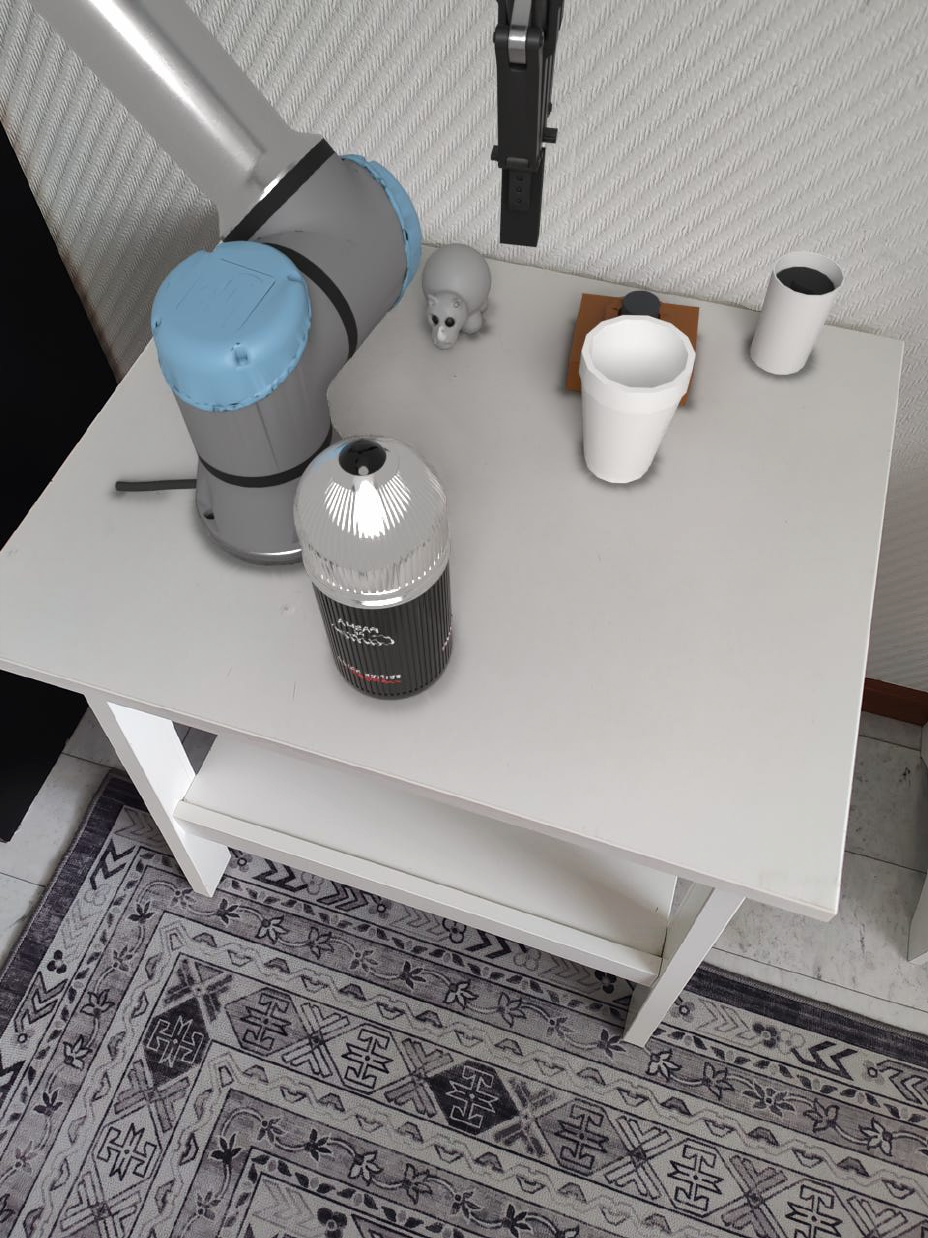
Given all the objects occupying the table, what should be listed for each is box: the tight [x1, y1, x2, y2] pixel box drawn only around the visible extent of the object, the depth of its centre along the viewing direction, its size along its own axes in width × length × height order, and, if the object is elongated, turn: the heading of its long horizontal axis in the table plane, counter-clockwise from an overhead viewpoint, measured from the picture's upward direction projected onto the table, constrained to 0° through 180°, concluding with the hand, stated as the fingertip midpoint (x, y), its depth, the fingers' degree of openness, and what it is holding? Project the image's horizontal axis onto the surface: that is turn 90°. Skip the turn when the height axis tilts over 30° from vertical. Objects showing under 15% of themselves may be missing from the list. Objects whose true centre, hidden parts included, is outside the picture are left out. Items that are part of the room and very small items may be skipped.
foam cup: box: [579, 315, 697, 484], centre depth 79 cm, size 10×9×13 cm
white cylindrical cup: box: [749, 250, 846, 376], centre depth 88 cm, size 7×7×10 cm
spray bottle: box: [293, 434, 454, 702], centre depth 63 cm, size 10×10×25 cm
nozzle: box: [620, 289, 661, 319], centre depth 86 cm, size 4×4×2 cm
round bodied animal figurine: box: [420, 242, 492, 351], centre depth 91 cm, size 7×12×8 cm, turn 167°
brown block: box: [565, 292, 700, 406], centre depth 89 cm, size 12×10×6 cm
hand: (519, 238), depth 64 cm, fingers closed
